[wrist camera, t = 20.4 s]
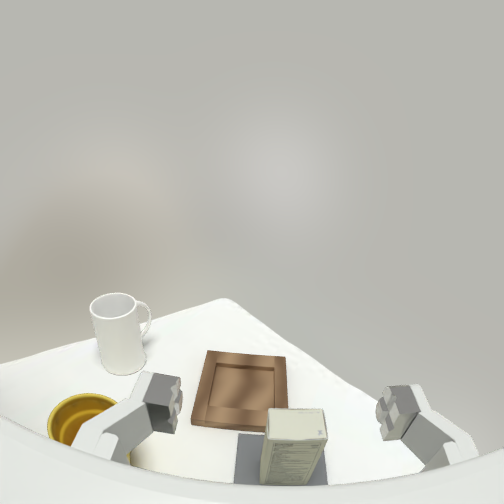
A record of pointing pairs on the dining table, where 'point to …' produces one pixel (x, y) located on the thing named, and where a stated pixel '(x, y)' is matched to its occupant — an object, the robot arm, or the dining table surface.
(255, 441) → the mat
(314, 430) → the skincare box
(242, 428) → the walnut tray
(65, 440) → the plant pot
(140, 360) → the mug
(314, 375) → the dining table surface
